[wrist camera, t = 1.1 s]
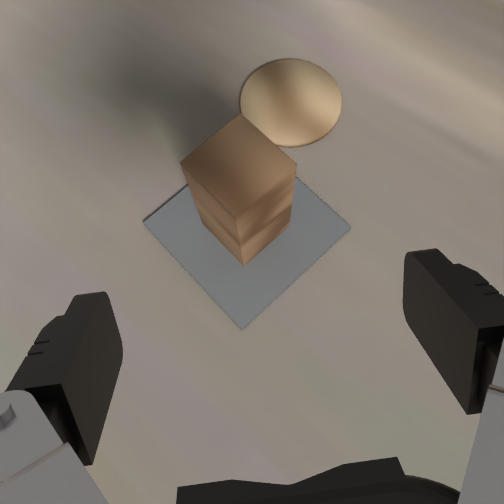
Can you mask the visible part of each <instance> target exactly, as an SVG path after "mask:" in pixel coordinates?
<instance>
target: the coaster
mask: <svg viewBox="0 0 504 504" xmlns="http://www.w3.org/2000/svg"><path fill="white" fill-rule="evenodd" d="M240 103H241V112H242V115H243V116H244V117H246V118H247V119H248V120H249V121H250V122H251V123H252V124H253V125H254V126H255V127H257V128H258V129H259V130H260V131H261V132H262V133H263V134H264V135H265V136H267V137H268V138H269V139H270V140H271V141H272V142H273V143H274V144H275V145H277V146H281V147H300V146H305V145H309V144H312V143H314V142H316V141H318V140H320V139H322V138H323V137H324V136H326V135H327V134H328V133H329V132H330V131H331V130H332V128H333V127H334V126H335V124H336V122H337V121H338V118H339V115H340V111H341V106H342V98H341V93H340V89H339V87H338V85H337V83H336V81H335V80H334V78H333V77H332V76H331V75H330V74H329V73H328V72H327V71H326V70H324V69H323V68H321V67H320V66H318V65H316V64H313V63H311V62H308V61H304V60H298V59H284V60H278V61H274V62H271V63H269V64H266V65H264V66H262V67H261V68H259V69H258V70H256V71H255V72H254V73H253V74H252V75H251V76H250V77H249V79H248V80H247V81H246V83H245V85H244V87H243V90H242V93H241V99H240Z"/></svg>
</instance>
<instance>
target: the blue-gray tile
mask: <svg viewBox="0 0 504 504" xmlns="http://www.w3.org/2000/svg"><path fill="white" fill-rule="evenodd" d="M143 224H144V226H145V227H146V228H147V229H148V230H149V231H150V232H151V233H152V234H153V235H154V236H155V237H156V239H157V240H158V241H159V242H160V243H161V244H162V245H163V246H164V247H165V248H166V249H167V250H168V251H169V253H170V254H171V255H172V256H173V257H174V258H175V259H176V260H177V261H178V262H179V263H180V264H181V266H182V267H183V268H184V269H185V270H186V271H187V272H188V273H189V274H190V275H191V276H192V277H193V279H194V280H195V281H196V282H197V283H198V284H199V285H200V286H201V287H202V288H203V289H204V290H205V291H206V293H207V294H208V295H209V296H210V297H211V298H212V299H213V300H214V301H215V302H216V303H217V304H218V306H219V307H220V308H221V309H222V310H223V311H224V312H225V313H226V314H227V315H228V316H229V317H230V319H231V320H232V321H233V322H234V323H235V324H236V325H237V326H238V327H239V328H240V329H241V330H243V329H244V328H245V327H246V326H247V325H248V324H249V323H250V322H252V321H253V320H254V319H255V318H256V317H257V316H258V315H259V314H260V313H261V312H262V311H263V310H264V309H265V308H267V307H268V306H269V305H270V304H271V303H272V302H273V301H274V300H275V299H276V298H277V297H278V296H279V295H280V294H281V293H283V292H284V291H285V290H286V289H287V288H288V287H289V286H290V285H291V284H292V283H293V282H294V281H295V280H296V279H298V278H299V277H300V276H301V275H302V274H303V273H304V272H305V271H306V270H307V269H308V268H309V267H310V266H311V265H313V264H314V263H315V262H316V261H317V260H318V259H319V258H320V257H321V256H322V255H323V254H324V253H325V252H326V251H327V250H329V249H330V248H331V247H332V246H333V245H334V244H335V243H336V242H337V241H338V240H339V239H340V238H341V237H342V236H344V235H345V234H346V233H347V232H348V231H349V230H350V229H351V227H350V226H349V225H348V224H347V223H346V222H345V221H344V220H343V219H342V218H341V217H339V216H338V215H337V214H336V213H335V212H334V211H333V210H332V209H331V208H330V207H329V206H327V205H326V204H325V203H324V202H323V201H322V200H321V199H320V198H319V197H318V196H316V195H315V194H314V193H313V192H312V191H311V190H310V189H309V188H308V187H307V186H305V185H304V184H303V183H302V182H301V181H300V180H299V179H298V178H297V177H296V176H295V184H294V192H293V201H292V209H291V218H290V226H289V227H288V228H287V229H286V230H284V231H283V232H282V233H281V234H280V235H279V236H278V237H277V238H276V239H274V240H273V241H272V242H271V243H270V244H269V245H268V246H267V247H266V248H264V249H263V250H262V251H261V252H260V253H259V254H258V255H257V256H256V257H254V258H253V259H252V260H251V261H250V262H249V263H248V264H247V265H246V266H243V265H242V264H241V263H240V262H239V261H238V260H237V259H236V258H235V257H234V256H233V255H232V254H231V253H230V252H229V251H228V250H227V249H226V248H225V247H224V246H223V245H222V244H221V243H220V242H219V241H218V239H217V238H216V237H215V236H214V235H213V234H212V233H211V232H210V231H209V230H208V229H207V228H206V227H205V226H204V225H203V224H202V221H201V218H200V216H199V213H198V210H197V207H196V205H195V202H194V199H193V197H192V194H191V191H190V188H189V186H187V187H186V188H185V189H183V190H182V191H181V192H180V193H178V194H177V195H176V196H175V197H174V198H172V199H171V200H170V201H169V202H168V203H166V204H165V205H164V206H163V207H162V208H160V209H159V210H158V211H157V212H155V213H154V214H153V215H152V216H151V217H149V218H148V219H147V220H146V221H145V222H143Z"/></svg>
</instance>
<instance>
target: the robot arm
mask: <svg viewBox="0 0 504 504" xmlns="http://www.w3.org/2000/svg"><path fill="white" fill-rule="evenodd" d="M403 310H404V315H405V319H406V321H407V323H408V325H409V327H410V328H411V330H412V331H413V333H414V335H415V336H416V338H417V339H418V341H419V342H420V344H421V345H422V347H423V348H424V350H425V351H426V353H427V354H428V356H429V357H430V359H431V361H432V362H433V364H434V365H435V367H436V368H437V370H438V371H439V373H440V374H441V376H442V377H443V379H444V380H445V382H446V383H447V385H448V387H449V388H450V390H451V391H452V393H453V394H454V396H455V397H456V399H457V400H458V402H459V403H460V405H461V406H462V408H463V410H464V411H465V413H466V414H467V415H470V414H477V413H481V417H480V421H479V425H478V428H477V432H476V436H475V440H474V443H473V447H472V451H471V455H470V459H469V462H468V466H467V470H466V474H465V477H464V481H463V485H462V489H461V492H459V491H457V490H455V489H453V488H451V487H449V486H446V485H444V484H442V483H439V482H436V481H432V480H429V479H426V478H421V477H416V476H411V475H405V474H404V472H403V469H402V467H401V465H400V462H399V460H398V458H397V457H392V458H385V459H377V460H370V461H363V462H356V463H349V464H343V465H340V466H338V467H335V468H333V469H330V470H328V471H325V472H323V473H320V474H317V475H315V476H312V477H310V478H307V479H305V480H302V481H300V482H297V483H294V484H290V485H281V484H271V483H261V482H251V481H241V480H225V481H218V482H211V483H204V484H196V485H189V486H182V487H178V489H177V500H176V504H504V296H503V295H502V294H499V291H497V290H496V289H495V288H494V287H493V286H492V285H489V282H488V281H487V280H486V279H484V278H483V277H482V276H481V275H480V274H479V273H478V272H476V271H474V270H472V269H470V268H468V267H466V266H463V265H461V264H453V263H452V262H451V261H450V260H449V259H447V258H446V257H445V256H444V255H443V254H442V253H441V252H440V251H439V250H438V249H436V248H435V249H427V250H419V251H412V252H407V253H406V255H405V260H404V282H403ZM122 359H123V347H122V341H121V337H120V333H119V330H118V327H117V323H116V320H115V316H114V313H113V310H112V306H111V303H110V299H109V297H108V295H107V293H106V292H104V291H103V292H96V293H88V294H81V295H76V296H74V298H73V300H72V301H71V303H70V305H69V307H68V309H67V311H66V313H65V314H64V315H62V316H57V317H55V318H54V319H53V320H52V321H51V322H50V323H48V324H47V325H46V326H45V327H44V328H43V329H42V330H41V332H40V333H39V335H38V337H37V338H36V340H35V342H34V345H32V347H31V348H30V350H29V352H28V356H26V357H25V359H24V360H23V362H22V364H21V365H20V367H19V369H18V371H17V372H16V374H15V376H14V377H13V379H12V381H11V382H10V384H9V386H8V387H7V389H6V391H5V392H3V393H0V504H109V503H108V502H107V500H106V499H105V497H104V496H103V494H102V493H101V491H100V490H99V488H98V487H97V485H96V484H95V482H94V481H93V479H92V478H91V476H90V474H89V473H88V471H87V470H86V468H85V467H84V466H87V465H93V461H94V458H95V454H96V451H97V447H98V444H99V440H100V437H101V433H102V430H103V426H104V423H105V420H106V416H107V413H108V409H109V406H110V402H111V399H112V395H113V392H114V388H115V385H116V381H117V378H118V374H119V371H120V367H121V364H122Z"/></svg>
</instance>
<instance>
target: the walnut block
mask: <svg viewBox="0 0 504 504" xmlns="http://www.w3.org/2000/svg"><path fill="white" fill-rule="evenodd" d="M180 164H181V166H182V169H183V172H184V175H185V177H186V180H187V183H188V186H189V188H190V191H191V194H192V197H193V199H194V202H195V205H196V207H197V210H198V213H199V216H200V218H201V221H202V224H203V225H204V226H205V227H206V228H207V229H208V230H209V231H210V232H211V233H212V234H213V235H214V236H215V237H216V238H217V239H218V241H219V242H220V243H221V244H222V245H223V246H224V247H225V248H226V249H227V250H228V251H229V252H230V253H231V254H232V255H233V256H234V257H235V258H236V259H237V260H238V261H239V262H240V263H241V264H242V265H243V266H246V265H247V264H248V263H249V262H250V261H251V260H252V259H253V258H254V257H256V256H257V255H258V254H259V253H260V252H261V251H262V250H263V249H264V248H266V247H267V246H268V245H269V244H270V243H271V242H272V241H273V240H274V239H276V238H277V237H278V236H279V235H280V234H281V233H282V232H283V231H284V230H286V229H287V228H288V227H289V226H290V218H291V209H292V201H293V192H294V184H295V175H296V167H297V163H295V162H294V161H293V160H292V159H291V158H290V157H289V156H288V155H287V154H285V153H284V152H283V151H282V150H281V149H280V148H279V147H278V146H277V145H275V144H274V143H273V142H272V141H271V140H270V139H269V138H268V137H267V136H265V135H264V134H263V133H262V132H261V131H260V130H259V129H258V128H257V127H255V126H254V125H253V124H252V123H251V122H250V121H249V120H248V119H247V118H246V117H244V116H243V115H242V114H241V113H240V114H239V115H238V116H236V117H235V118H234V119H233V120H231V121H230V122H229V123H228V124H226V125H225V126H224V127H223V128H222V129H220V130H219V131H218V132H217V133H215V134H214V135H213V136H212V137H210V138H209V139H208V140H207V141H205V142H204V143H203V144H202V145H201V146H199V147H198V148H197V149H196V150H194V151H193V152H192V153H191V154H189V155H188V156H187V157H186V158H184V159H183V160H182V161H181V162H180Z"/></svg>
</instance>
